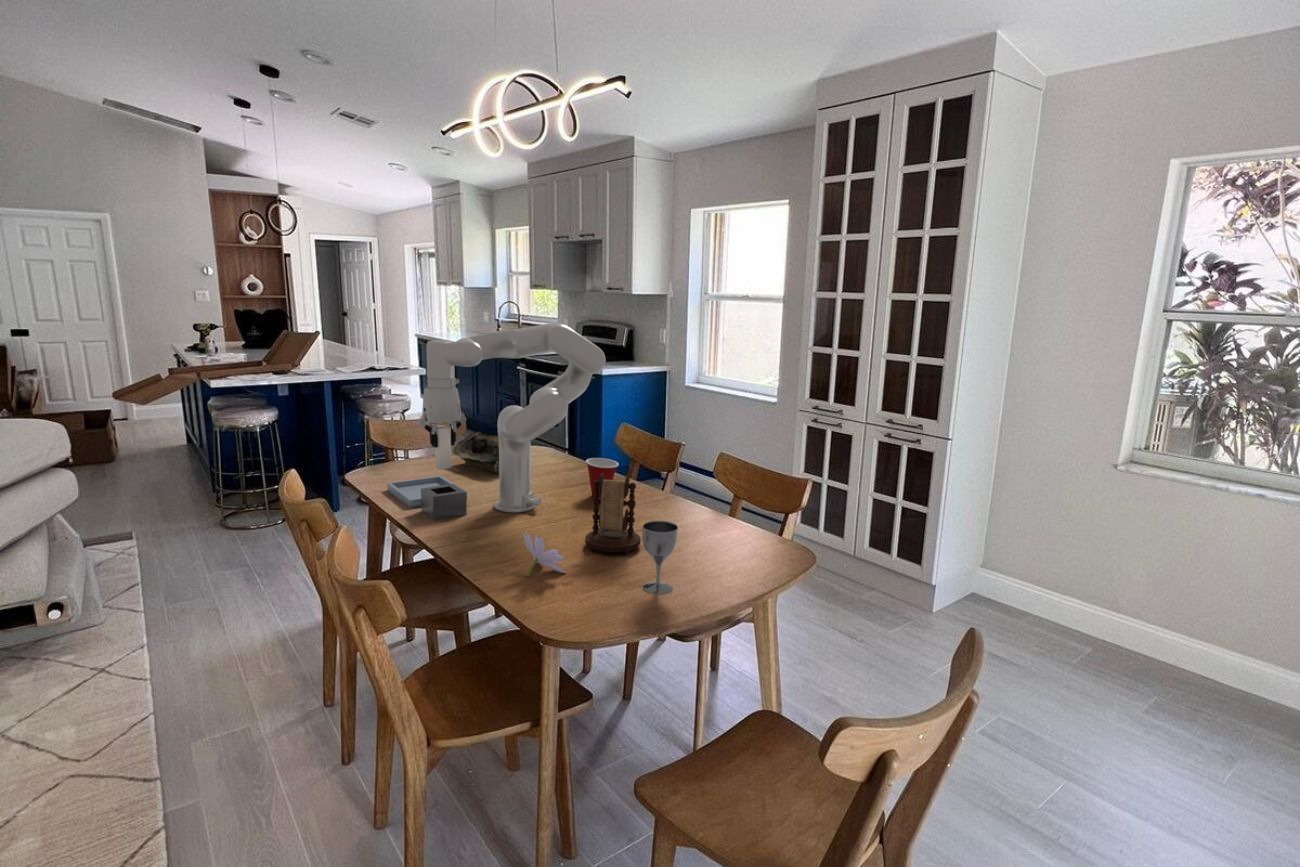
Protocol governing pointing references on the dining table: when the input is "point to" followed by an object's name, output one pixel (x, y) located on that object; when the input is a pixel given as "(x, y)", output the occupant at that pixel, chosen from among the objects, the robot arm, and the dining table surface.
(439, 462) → the dowel pin
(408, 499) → the tray
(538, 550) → the water lily
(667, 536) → the wine glass
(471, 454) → the hollow geode rock
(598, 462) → the plastic cup
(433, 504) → the socket block
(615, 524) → the scroll
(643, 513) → the dining table surface
